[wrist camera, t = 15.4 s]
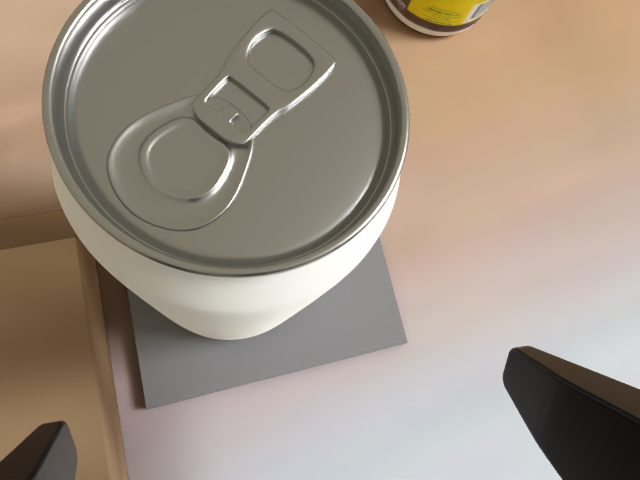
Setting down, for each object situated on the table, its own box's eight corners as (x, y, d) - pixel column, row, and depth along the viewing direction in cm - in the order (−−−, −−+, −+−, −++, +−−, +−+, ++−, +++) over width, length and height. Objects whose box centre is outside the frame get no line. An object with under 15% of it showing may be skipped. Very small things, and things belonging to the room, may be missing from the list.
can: (105, 267, 18) (-104, 106, 7) (220, 146, 20) (213, -141, 9) (243, 377, 18) (270, 405, 7) (345, 245, 20) (503, 90, 9)
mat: (404, 343, 20) (407, 342, 20) (148, 408, 18) (146, 409, 17) (344, 118, 22) (346, 114, 21) (106, 151, 20) (104, 147, 19)
